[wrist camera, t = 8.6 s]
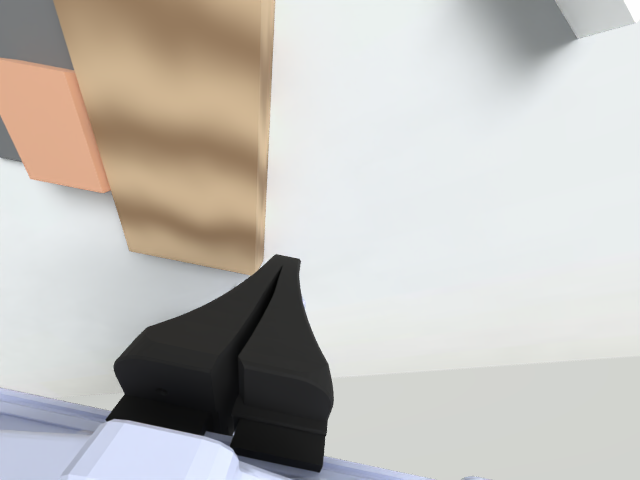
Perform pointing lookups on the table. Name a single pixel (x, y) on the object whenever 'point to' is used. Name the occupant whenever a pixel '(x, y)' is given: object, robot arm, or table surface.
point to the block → (50, 125)
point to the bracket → (598, 15)
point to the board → (180, 120)
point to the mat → (30, 45)
